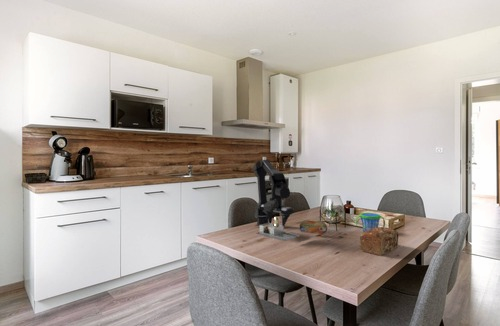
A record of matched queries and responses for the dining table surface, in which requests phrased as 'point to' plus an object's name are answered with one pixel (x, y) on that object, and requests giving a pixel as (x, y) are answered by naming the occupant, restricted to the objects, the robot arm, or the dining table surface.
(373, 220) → the snack cup
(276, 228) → the jaw
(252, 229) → the dining table surface
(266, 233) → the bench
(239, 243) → the dining table surface
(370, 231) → the bread
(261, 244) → the dining table surface
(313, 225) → the tin
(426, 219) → the dining table surface
